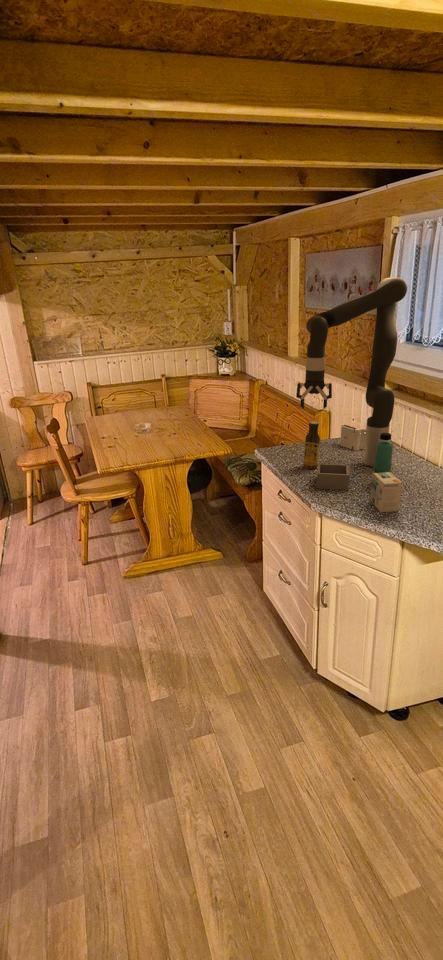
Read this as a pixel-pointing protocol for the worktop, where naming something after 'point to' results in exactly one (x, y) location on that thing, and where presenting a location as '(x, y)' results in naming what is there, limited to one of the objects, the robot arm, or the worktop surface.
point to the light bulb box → (385, 491)
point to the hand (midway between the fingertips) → (313, 408)
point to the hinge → (352, 437)
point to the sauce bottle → (312, 446)
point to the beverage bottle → (383, 454)
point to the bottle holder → (333, 476)
